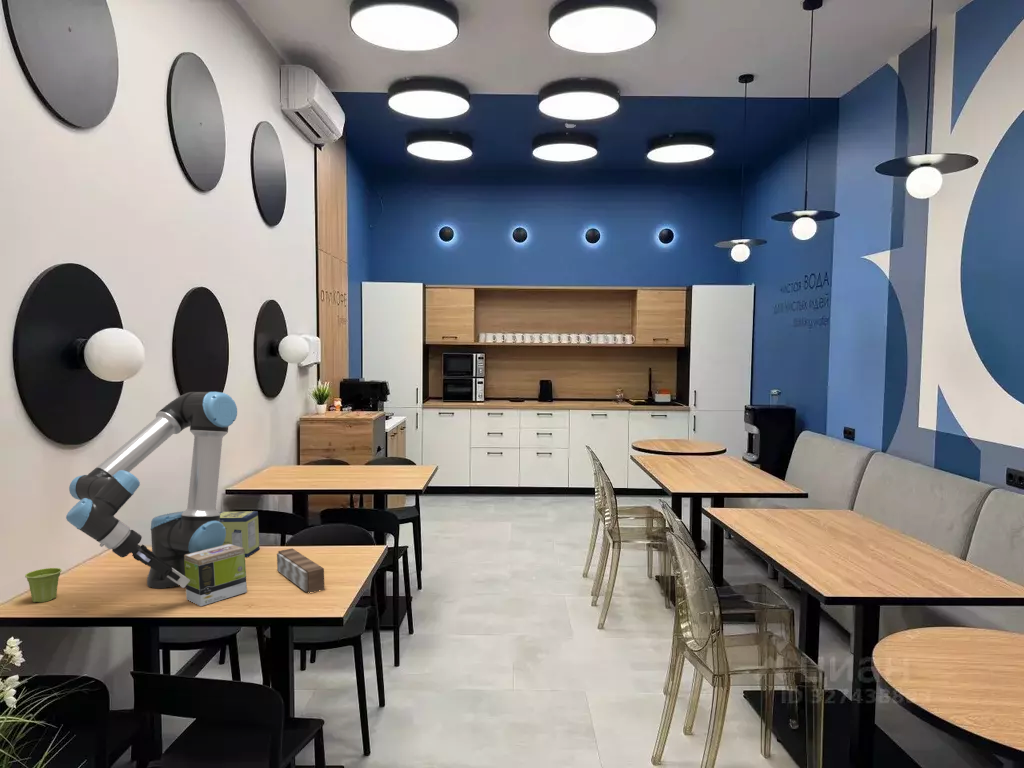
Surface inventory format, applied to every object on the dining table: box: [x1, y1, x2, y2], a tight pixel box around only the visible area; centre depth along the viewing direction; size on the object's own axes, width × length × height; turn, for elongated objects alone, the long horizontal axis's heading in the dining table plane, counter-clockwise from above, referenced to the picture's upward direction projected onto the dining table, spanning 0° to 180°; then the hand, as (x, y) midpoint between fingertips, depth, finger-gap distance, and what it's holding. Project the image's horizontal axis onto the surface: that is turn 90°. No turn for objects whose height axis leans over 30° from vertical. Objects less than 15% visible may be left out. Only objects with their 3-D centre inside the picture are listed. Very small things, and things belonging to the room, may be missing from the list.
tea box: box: [184, 544, 248, 607], centre depth 201 cm, size 15×10×15 cm, turn 141°
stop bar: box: [276, 548, 325, 594], centre depth 215 cm, size 30×6×7 cm, turn 38°
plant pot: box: [24, 567, 63, 603], centre depth 202 cm, size 9×9×9 cm
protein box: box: [219, 510, 260, 558], centre depth 248 cm, size 10×16×16 cm
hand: (186, 583), depth 195 cm, fingers closed
